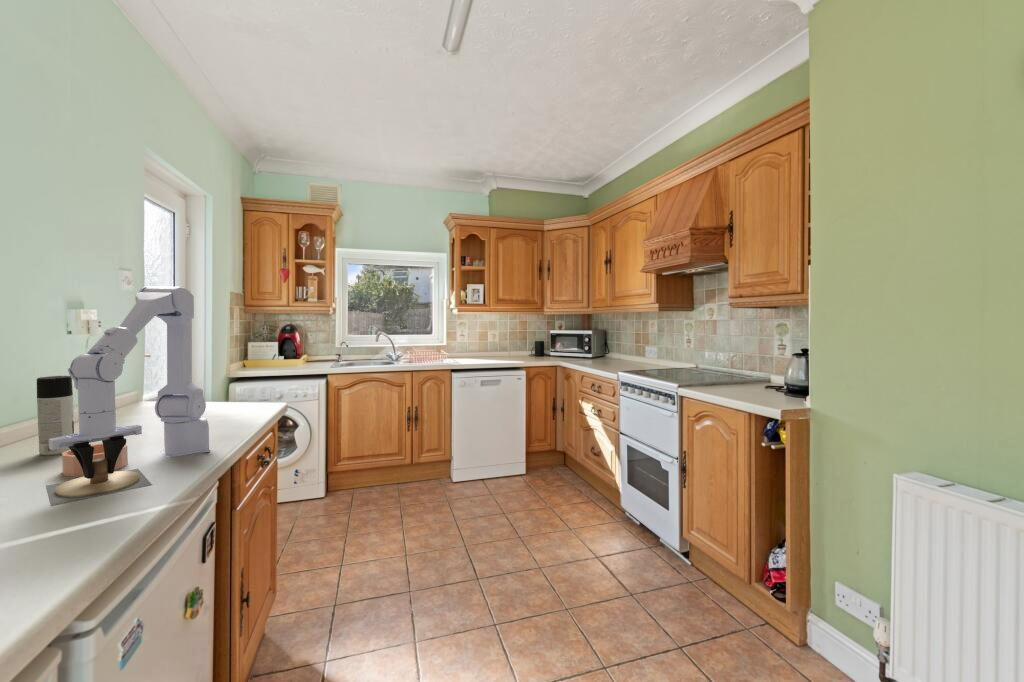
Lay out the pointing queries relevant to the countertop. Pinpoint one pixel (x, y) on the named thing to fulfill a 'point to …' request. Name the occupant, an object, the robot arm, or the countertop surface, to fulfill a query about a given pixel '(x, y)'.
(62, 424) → the spray can
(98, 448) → the bowl
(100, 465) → the lid
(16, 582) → the countertop surface
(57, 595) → the countertop surface
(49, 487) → the mat
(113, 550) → the countertop surface
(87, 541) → the countertop surface
